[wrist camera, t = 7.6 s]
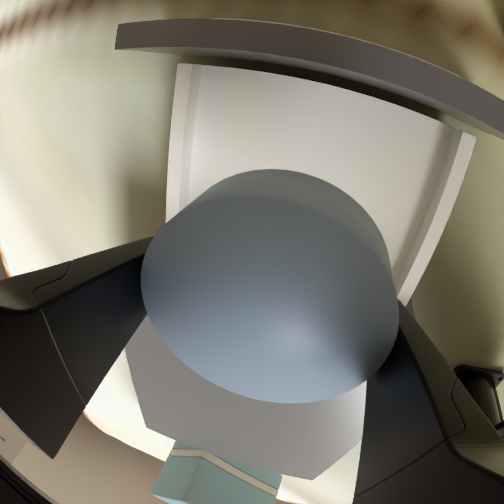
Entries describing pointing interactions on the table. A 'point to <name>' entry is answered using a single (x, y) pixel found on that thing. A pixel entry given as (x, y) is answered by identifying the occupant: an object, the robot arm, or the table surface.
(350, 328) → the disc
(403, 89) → the grey white drawer
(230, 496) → the radio
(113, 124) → the table surface
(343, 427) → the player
